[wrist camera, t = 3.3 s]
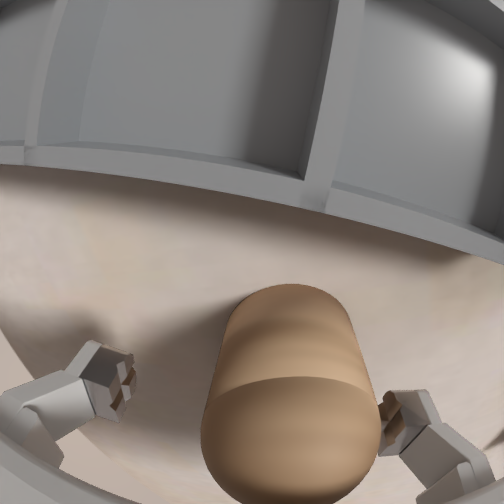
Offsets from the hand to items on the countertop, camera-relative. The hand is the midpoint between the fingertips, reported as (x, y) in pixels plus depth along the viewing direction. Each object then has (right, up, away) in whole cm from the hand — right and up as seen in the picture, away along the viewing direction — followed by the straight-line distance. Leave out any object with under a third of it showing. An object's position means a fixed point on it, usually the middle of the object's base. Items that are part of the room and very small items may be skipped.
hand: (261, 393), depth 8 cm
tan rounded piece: (+1, +1, +3) cm, 3 cm away
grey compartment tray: (-1, +15, -2) cm, 15 cm away
